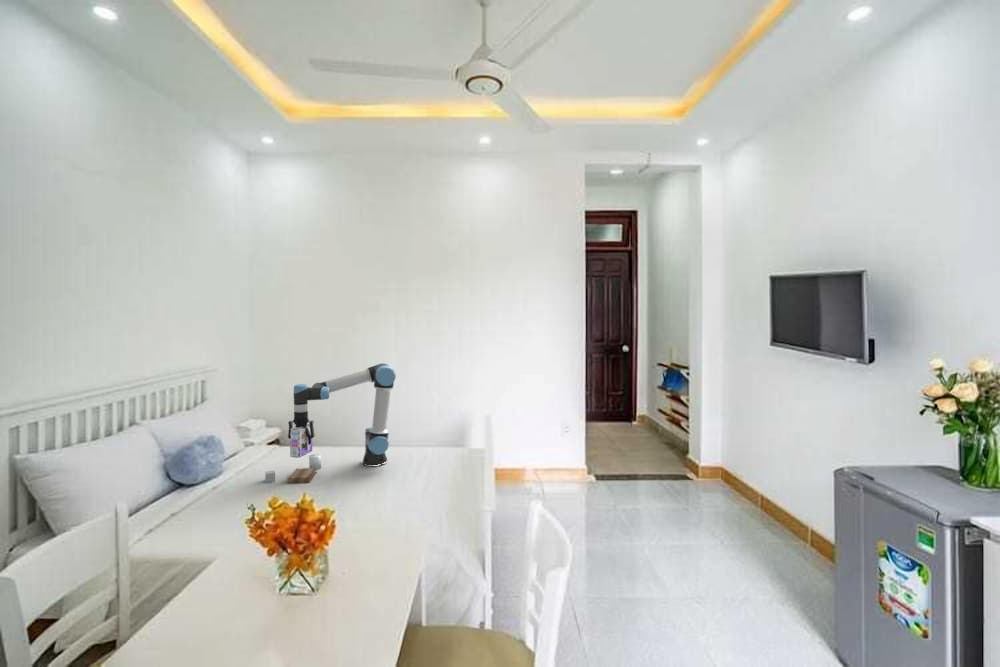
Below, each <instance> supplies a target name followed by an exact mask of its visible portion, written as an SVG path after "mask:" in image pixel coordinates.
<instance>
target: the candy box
mask: <svg viewBox="0 0 1000 667" xmlns="http://www.w3.org/2000/svg"><path fill="white" fill-rule="evenodd" d="M307 428H308V430H309V432H310V424H309V423H307ZM310 435H311V432H310ZM289 439H290V440H289V441H290V444H289V445H290V448H289V449H290V452H289V455H290V457H291V458H299V459H300V458H302V457H304V456H305V455H306V456H307V454H310V453H311V452H313V438H311V444H309V447H310V449H309V450H307V439H308V437H307V435H306V430H305V428H304V427H295V426H294V427H292V429H290V438H289Z"/></svg>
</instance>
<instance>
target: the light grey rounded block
mask: <svg viewBox="0 0 1000 667" xmlns="http://www.w3.org/2000/svg"><path fill="white" fill-rule="evenodd" d="M308 466H309V467H308V468H316V471H318V470H321V469H322V454H320V453H313V454H310V455H309V457H308Z"/></svg>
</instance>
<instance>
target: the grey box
mask: <svg viewBox="0 0 1000 667" xmlns="http://www.w3.org/2000/svg"><path fill="white" fill-rule="evenodd" d="M264 475H265V484H267V483H273V482H275V483H276V471H275V470H268V471H267V470H266V471H265V472H264Z"/></svg>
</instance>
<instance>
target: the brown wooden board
mask: <svg viewBox="0 0 1000 667" xmlns="http://www.w3.org/2000/svg"><path fill="white" fill-rule="evenodd" d="M317 473H318V472H317V470H316V468H309V467H308V468H307V467H306V468H296V469H295V470H294V471H293V472H292V473H291V474H290V475H289V476H288V477H287V482H286V484H309V483H310V482H311V481H312V480H313V478H314V477H315V476H316V474H317Z"/></svg>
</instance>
